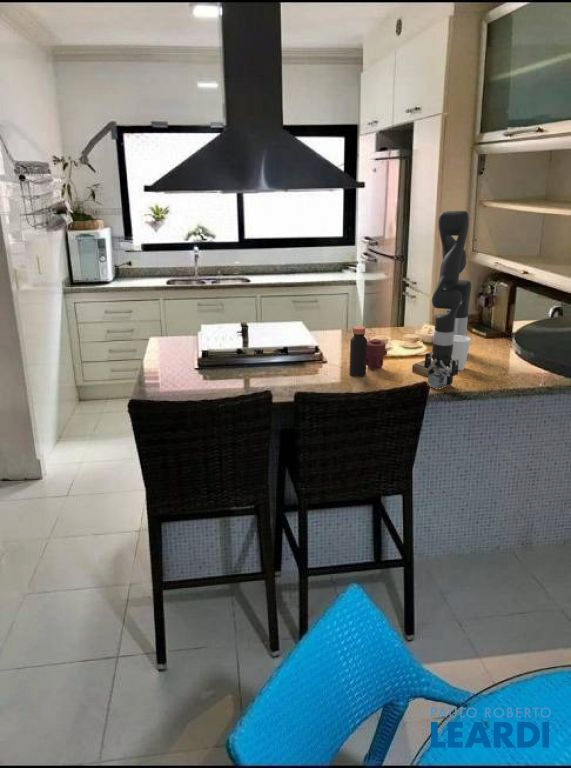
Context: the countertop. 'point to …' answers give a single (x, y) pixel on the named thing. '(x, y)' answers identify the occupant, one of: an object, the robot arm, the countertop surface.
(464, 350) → the foam cup
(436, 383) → the housing
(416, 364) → the stand
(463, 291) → the robot arm
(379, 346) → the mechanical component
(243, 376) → the countertop surface
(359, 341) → the bottle
